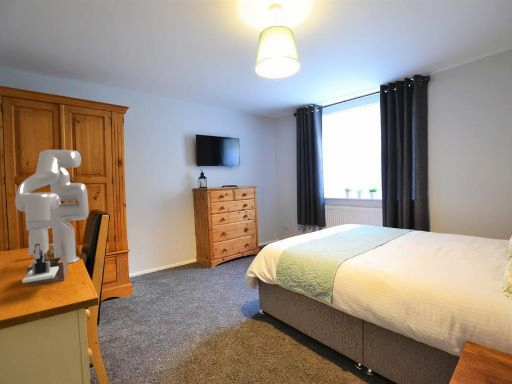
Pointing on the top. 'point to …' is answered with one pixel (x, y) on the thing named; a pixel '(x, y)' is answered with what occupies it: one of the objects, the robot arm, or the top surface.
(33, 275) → the cover plate
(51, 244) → the lion figurine
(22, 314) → the top surface
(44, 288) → the top surface
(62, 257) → the slide box
